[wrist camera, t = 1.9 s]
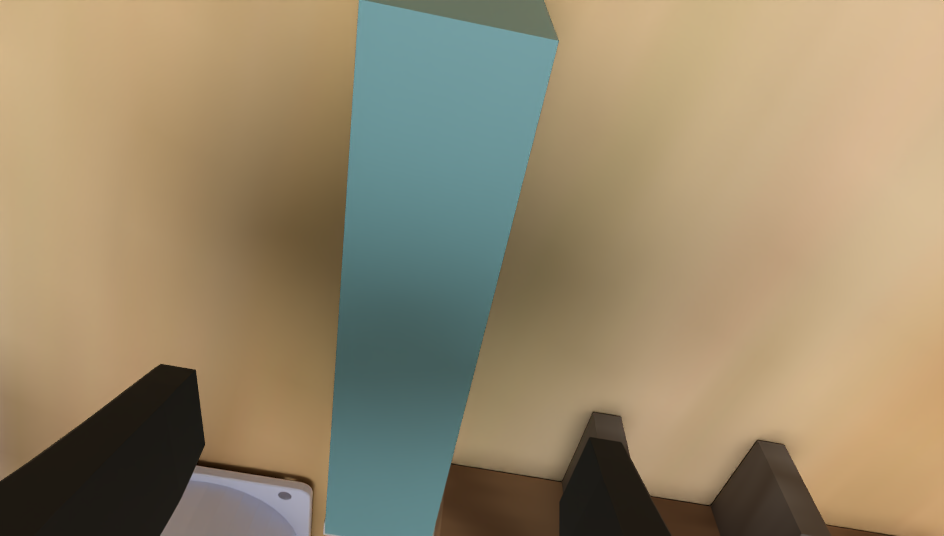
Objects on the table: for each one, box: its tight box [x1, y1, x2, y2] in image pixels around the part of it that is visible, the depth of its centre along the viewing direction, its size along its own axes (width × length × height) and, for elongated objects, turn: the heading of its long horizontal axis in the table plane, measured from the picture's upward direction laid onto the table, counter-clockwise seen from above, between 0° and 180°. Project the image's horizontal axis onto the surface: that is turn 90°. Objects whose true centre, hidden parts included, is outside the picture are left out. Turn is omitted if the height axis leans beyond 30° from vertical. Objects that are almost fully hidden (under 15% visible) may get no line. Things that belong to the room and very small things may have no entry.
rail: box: [323, 0, 559, 536], centre depth 14 cm, size 3×15×5 cm, turn 170°
